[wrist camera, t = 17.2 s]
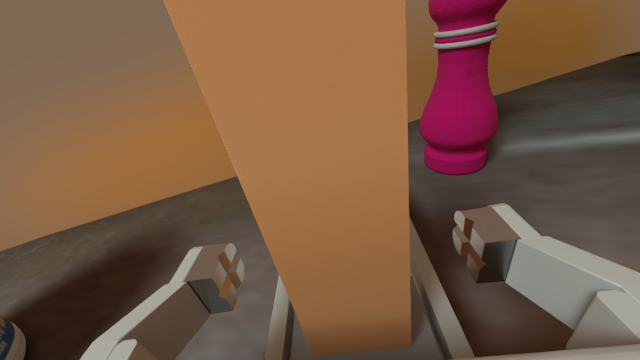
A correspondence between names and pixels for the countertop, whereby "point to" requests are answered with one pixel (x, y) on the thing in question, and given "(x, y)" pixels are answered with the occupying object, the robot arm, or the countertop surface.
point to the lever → (320, 159)
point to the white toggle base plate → (430, 294)
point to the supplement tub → (11, 341)
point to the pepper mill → (461, 87)
